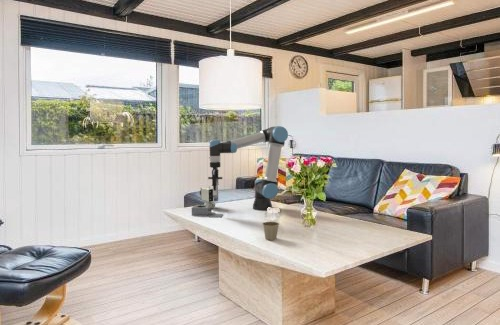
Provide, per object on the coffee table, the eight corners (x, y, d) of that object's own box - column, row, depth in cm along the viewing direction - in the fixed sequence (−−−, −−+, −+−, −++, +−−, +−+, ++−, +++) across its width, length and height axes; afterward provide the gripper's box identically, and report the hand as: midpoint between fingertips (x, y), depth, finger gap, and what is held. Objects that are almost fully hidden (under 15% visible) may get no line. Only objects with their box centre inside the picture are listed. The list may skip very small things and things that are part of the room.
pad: (223, 214, 266) (223, 213, 266) (221, 217, 257) (221, 216, 257) (211, 214, 266) (211, 213, 266) (208, 217, 257) (208, 216, 257)
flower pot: (282, 238, 203) (282, 223, 203) (272, 242, 196) (272, 226, 196) (269, 235, 210) (269, 220, 209) (259, 239, 203) (258, 223, 202)
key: (209, 200, 263) (208, 176, 262) (222, 200, 262) (222, 176, 261) (208, 201, 259) (207, 177, 258) (222, 201, 258) (221, 177, 257)
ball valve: (220, 209, 285) (220, 186, 284) (211, 210, 280) (210, 187, 279) (208, 205, 299) (208, 184, 298) (199, 206, 294) (199, 185, 293)
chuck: (211, 212, 275) (211, 204, 274) (208, 215, 263) (207, 208, 262) (195, 211, 276) (195, 204, 275) (191, 215, 264) (191, 208, 263)
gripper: (212, 160, 267) (212, 192, 269) (207, 162, 251) (208, 196, 252) (222, 160, 266) (222, 192, 268) (218, 162, 250) (218, 196, 252)
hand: (215, 194), depth 260 cm, fingers closed on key, 3 cm apart
